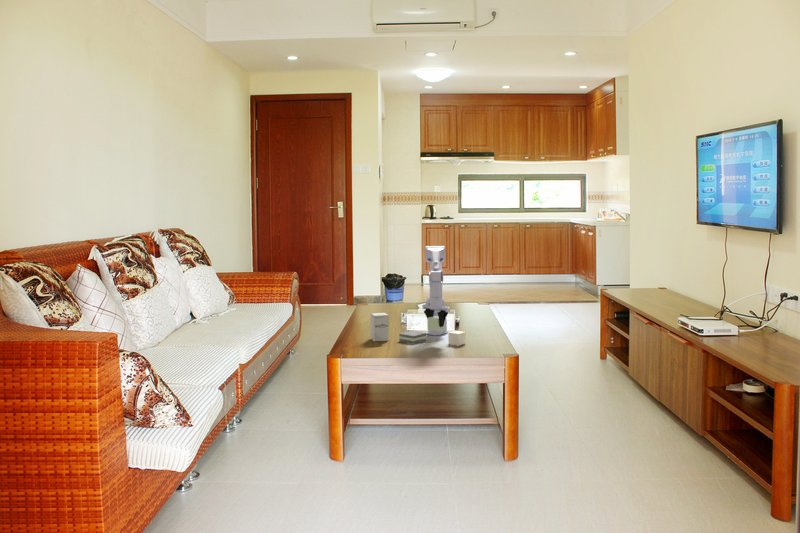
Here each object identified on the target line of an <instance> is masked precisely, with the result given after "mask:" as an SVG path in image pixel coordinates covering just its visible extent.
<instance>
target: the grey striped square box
mask: <svg viewBox="0 0 800 533" xmlns="http://www.w3.org/2000/svg"><path fill="white" fill-rule="evenodd" d="M398 339H399V342H402V343H408V344H413V345H414V344H419V343H422V342H427V334H426V333H425V332H420V331H415V330H409V331H405V332H401V333H399V336H398Z"/></svg>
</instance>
